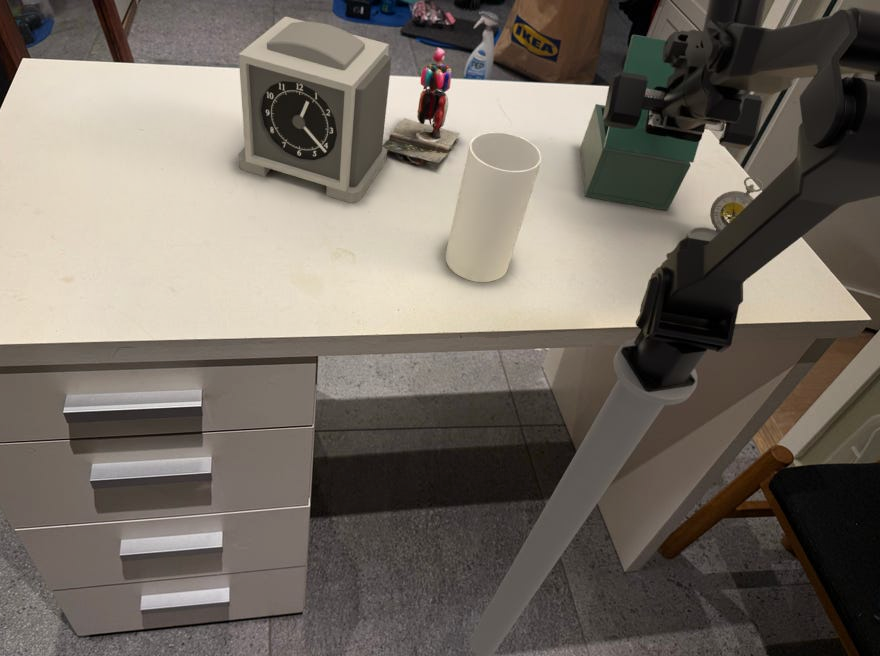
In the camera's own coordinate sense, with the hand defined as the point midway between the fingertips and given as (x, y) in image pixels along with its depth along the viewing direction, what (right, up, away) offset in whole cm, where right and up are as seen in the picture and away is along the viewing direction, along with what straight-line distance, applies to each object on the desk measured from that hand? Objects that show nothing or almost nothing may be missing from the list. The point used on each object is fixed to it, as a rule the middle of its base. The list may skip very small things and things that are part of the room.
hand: (656, 129), depth 91 cm
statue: (-32, +1, +12) cm, 34 cm away
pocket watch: (+9, -16, +4) cm, 18 cm away
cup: (-25, -19, -5) cm, 32 cm away
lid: (+1, +4, 0) cm, 4 cm away
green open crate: (-1, -3, +12) cm, 13 cm away
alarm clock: (-48, -3, +5) cm, 48 cm away
